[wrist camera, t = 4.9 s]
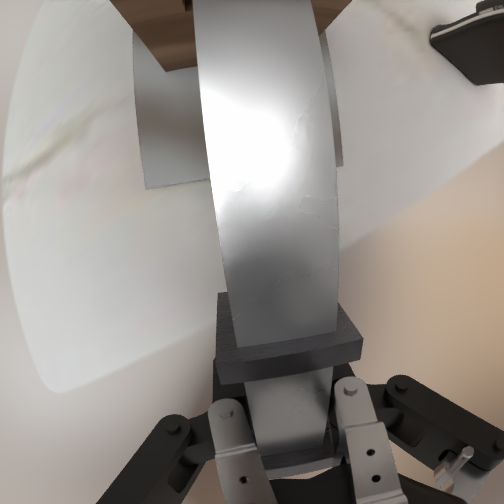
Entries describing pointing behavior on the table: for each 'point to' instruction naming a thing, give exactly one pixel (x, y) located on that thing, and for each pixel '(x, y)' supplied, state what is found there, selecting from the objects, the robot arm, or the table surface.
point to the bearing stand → (187, 87)
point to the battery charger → (475, 43)
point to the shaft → (274, 222)
